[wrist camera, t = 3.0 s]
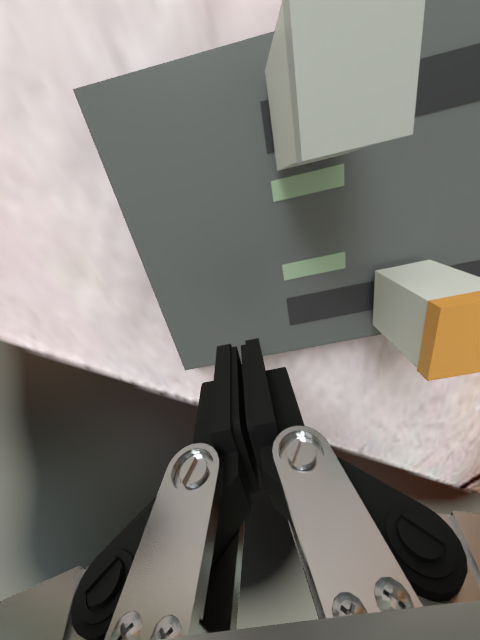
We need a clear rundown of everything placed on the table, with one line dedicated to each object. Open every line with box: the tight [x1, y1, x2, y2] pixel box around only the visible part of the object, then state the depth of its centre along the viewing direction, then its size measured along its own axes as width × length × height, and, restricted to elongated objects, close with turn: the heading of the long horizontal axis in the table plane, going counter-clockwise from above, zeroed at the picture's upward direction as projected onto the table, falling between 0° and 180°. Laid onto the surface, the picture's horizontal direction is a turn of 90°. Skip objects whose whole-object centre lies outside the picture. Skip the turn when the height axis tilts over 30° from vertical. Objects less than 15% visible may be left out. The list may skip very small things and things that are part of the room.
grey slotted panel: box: [73, 0, 480, 370], centre depth 12 cm, size 24×13×2 cm, turn 102°
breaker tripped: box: [373, 260, 480, 381], centre depth 10 cm, size 3×3×4 cm
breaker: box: [265, 0, 425, 171], centre depth 7 cm, size 3×3×4 cm
